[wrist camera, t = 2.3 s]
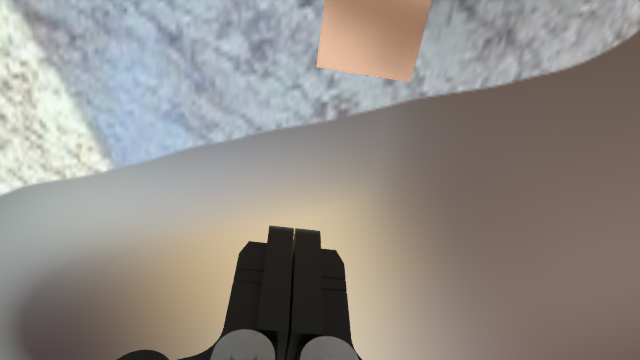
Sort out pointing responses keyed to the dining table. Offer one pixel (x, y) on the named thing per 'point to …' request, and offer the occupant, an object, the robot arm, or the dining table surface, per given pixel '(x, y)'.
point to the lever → (372, 36)
